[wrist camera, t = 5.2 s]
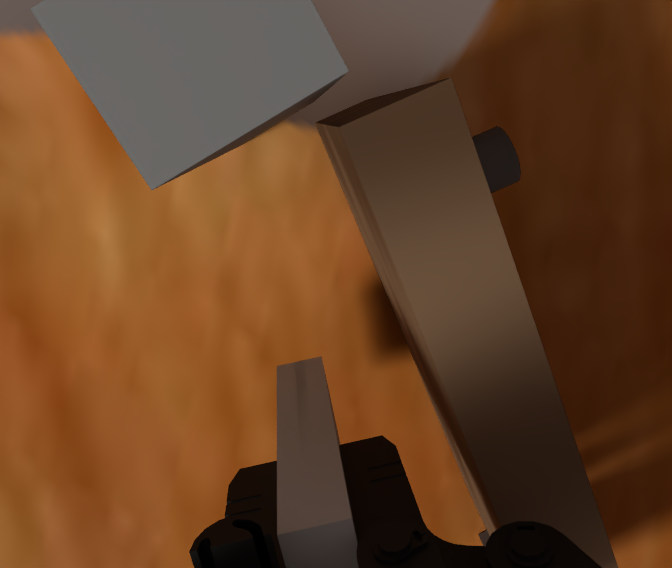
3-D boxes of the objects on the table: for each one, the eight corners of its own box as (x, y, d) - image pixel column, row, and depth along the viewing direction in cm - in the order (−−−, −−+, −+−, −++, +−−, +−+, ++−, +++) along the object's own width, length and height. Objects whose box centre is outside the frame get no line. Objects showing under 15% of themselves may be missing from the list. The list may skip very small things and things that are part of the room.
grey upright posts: (569, 561, 22) (831, 983, 11) (512, 590, 22) (716, 1031, 11) (195, -111, 15) (-50, -683, 4) (117, -60, 15) (-303, -489, 4)
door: (569, 496, 20) (789, 797, 11) (485, 530, 20) (635, 854, 11) (419, 76, 16) (581, 22, 7) (314, 122, 16) (340, 127, 7)
